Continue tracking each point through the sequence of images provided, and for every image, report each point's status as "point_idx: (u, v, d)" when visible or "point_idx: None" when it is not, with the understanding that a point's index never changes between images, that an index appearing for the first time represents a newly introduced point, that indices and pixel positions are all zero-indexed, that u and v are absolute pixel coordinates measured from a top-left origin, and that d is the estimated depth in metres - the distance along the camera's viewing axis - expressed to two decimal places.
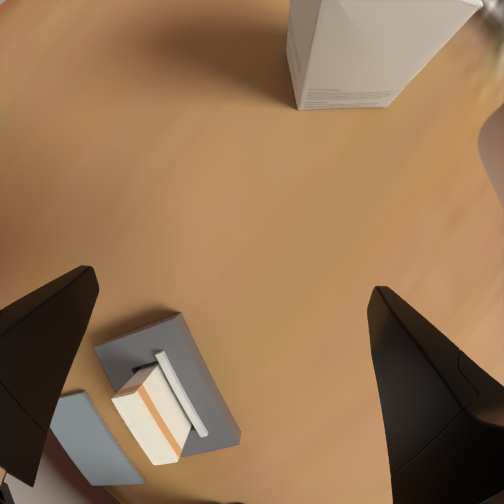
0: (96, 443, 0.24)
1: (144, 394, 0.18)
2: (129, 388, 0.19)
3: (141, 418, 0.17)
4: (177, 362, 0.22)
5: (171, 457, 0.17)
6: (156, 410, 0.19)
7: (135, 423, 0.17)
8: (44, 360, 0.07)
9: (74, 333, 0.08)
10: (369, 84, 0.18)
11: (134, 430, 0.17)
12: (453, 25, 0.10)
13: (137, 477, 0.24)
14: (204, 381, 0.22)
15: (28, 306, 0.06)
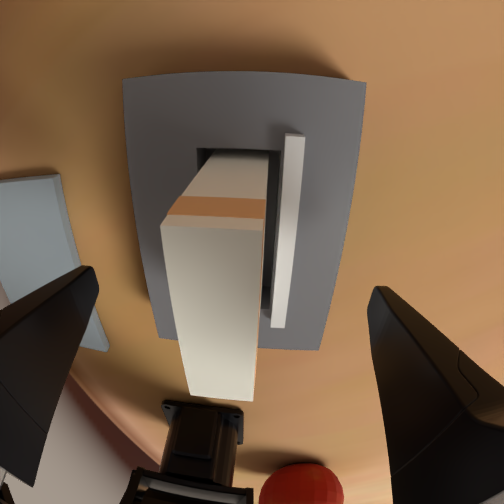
0: (49, 274, 0.15)
1: None
2: (220, 201, 0.07)
3: (233, 303, 0.07)
4: (318, 171, 0.10)
5: (247, 393, 0.09)
6: None
7: (204, 311, 0.07)
8: (44, 360, 0.07)
9: (74, 333, 0.08)
10: None
11: (189, 325, 0.07)
12: None
13: (101, 341, 0.18)
14: (344, 230, 0.11)
15: (28, 306, 0.06)
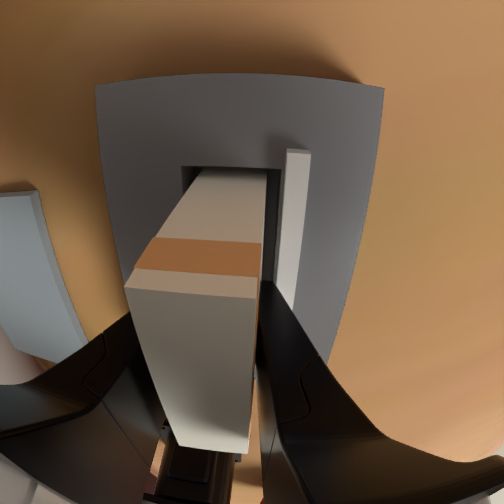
0: (33, 294, 0.14)
1: None
2: (203, 247, 0.05)
3: (221, 373, 0.05)
4: (325, 194, 0.09)
5: (241, 447, 0.07)
6: None
7: (187, 378, 0.06)
8: None
9: None
10: None
11: (171, 389, 0.06)
12: None
13: None
14: (354, 259, 0.10)
15: None
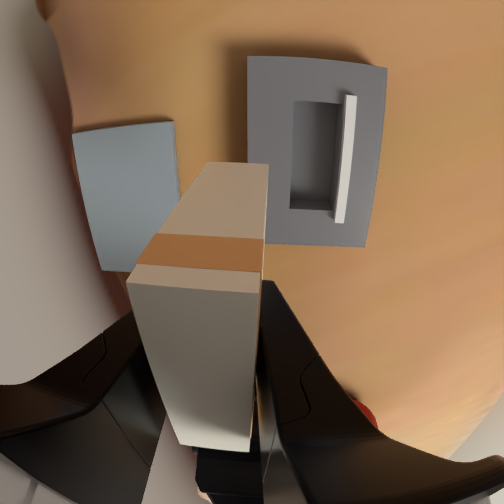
0: (149, 203, 0.21)
1: (261, 283, 0.06)
2: (205, 243, 0.05)
3: (223, 369, 0.05)
4: (363, 117, 0.16)
5: (242, 445, 0.07)
6: None
7: (189, 375, 0.06)
8: (156, 388, 0.07)
9: None
10: None
11: (172, 387, 0.06)
12: None
13: None
14: (379, 153, 0.17)
15: None
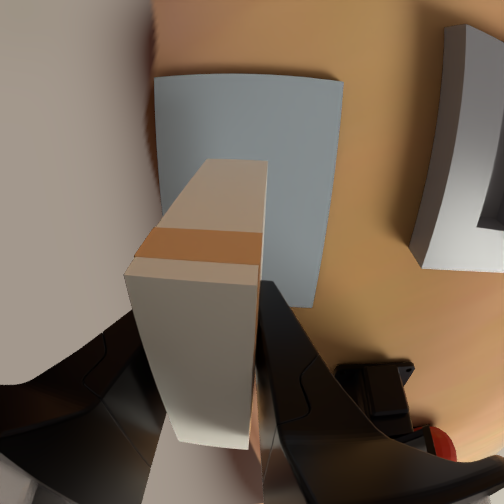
0: (282, 202, 0.14)
1: None
2: (204, 237, 0.05)
3: (222, 364, 0.05)
4: None
5: (241, 443, 0.07)
6: (257, 323, 0.07)
7: (187, 370, 0.06)
8: (156, 388, 0.07)
9: None
10: None
11: (170, 382, 0.06)
12: None
13: (312, 293, 0.17)
14: None
15: None
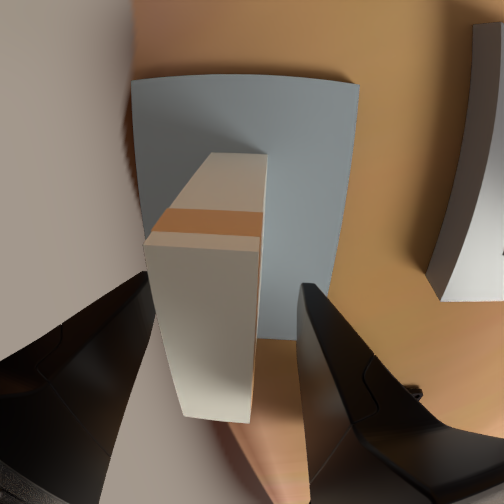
0: (284, 229, 0.12)
1: None
2: (212, 215, 0.06)
3: (227, 329, 0.06)
4: None
5: (243, 415, 0.08)
6: None
7: (195, 336, 0.06)
8: (112, 379, 0.07)
9: (139, 346, 0.08)
10: None
11: (179, 350, 0.07)
12: None
13: None
14: None
15: (95, 320, 0.06)
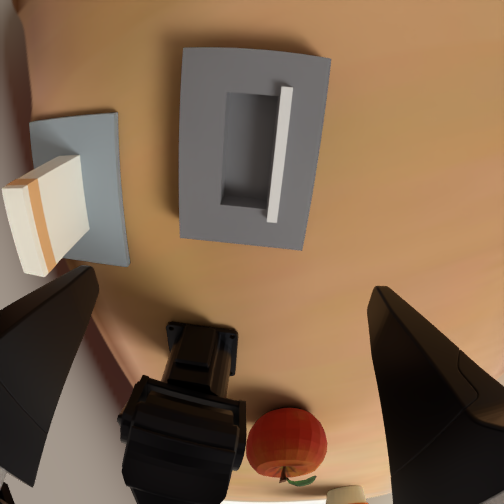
0: (92, 192, 0.20)
1: (34, 191, 0.15)
2: (24, 180, 0.14)
3: (22, 218, 0.14)
4: (301, 110, 0.16)
5: (40, 270, 0.16)
6: (43, 212, 0.16)
7: (16, 221, 0.14)
8: (44, 360, 0.07)
9: (74, 333, 0.08)
10: None
11: (14, 229, 0.15)
12: None
13: (124, 256, 0.23)
14: (318, 150, 0.17)
15: (28, 306, 0.06)
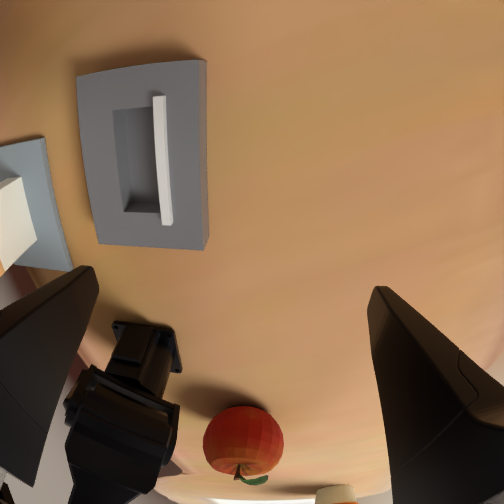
0: (34, 208, 0.21)
1: None
2: None
3: None
4: (176, 115, 0.16)
5: None
6: None
7: None
8: (44, 360, 0.07)
9: (74, 333, 0.08)
10: None
11: None
12: None
13: (66, 262, 0.24)
14: (199, 151, 0.17)
15: (28, 306, 0.06)
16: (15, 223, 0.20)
